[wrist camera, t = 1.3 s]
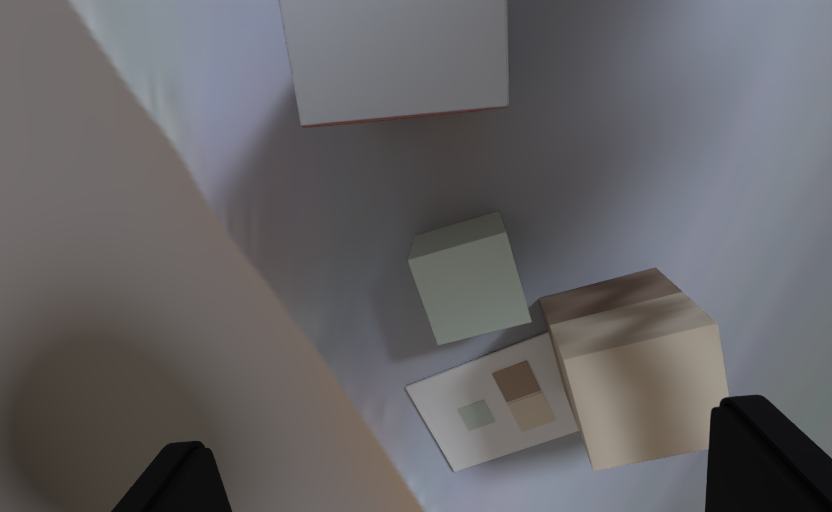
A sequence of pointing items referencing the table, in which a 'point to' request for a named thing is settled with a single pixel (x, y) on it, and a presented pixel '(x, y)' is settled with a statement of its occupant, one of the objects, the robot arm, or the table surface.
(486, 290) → the sage brick
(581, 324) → the wood-grain cube
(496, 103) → the small box
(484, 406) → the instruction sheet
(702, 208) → the table surface
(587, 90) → the table surface
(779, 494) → the robot arm
